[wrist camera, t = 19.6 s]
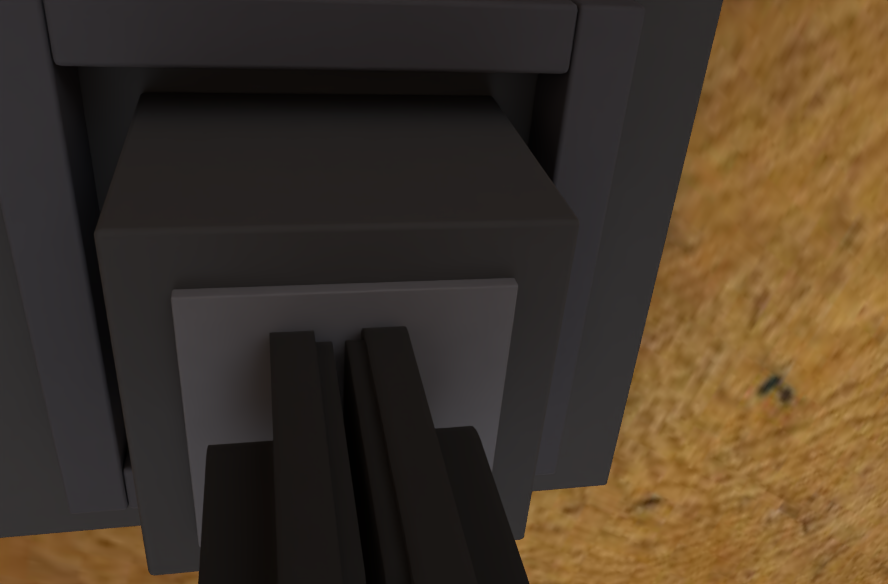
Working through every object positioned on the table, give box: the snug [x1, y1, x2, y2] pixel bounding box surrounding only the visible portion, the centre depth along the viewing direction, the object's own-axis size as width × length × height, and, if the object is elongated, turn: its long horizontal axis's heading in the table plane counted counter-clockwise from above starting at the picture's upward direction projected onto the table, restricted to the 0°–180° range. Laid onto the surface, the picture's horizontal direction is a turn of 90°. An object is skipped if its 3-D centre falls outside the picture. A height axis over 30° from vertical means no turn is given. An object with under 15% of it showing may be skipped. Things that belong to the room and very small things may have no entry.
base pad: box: [0, 0, 723, 538], centre depth 14 cm, size 13×13×2 cm
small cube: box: [94, 93, 579, 575], centre depth 13 cm, size 6×6×5 cm
